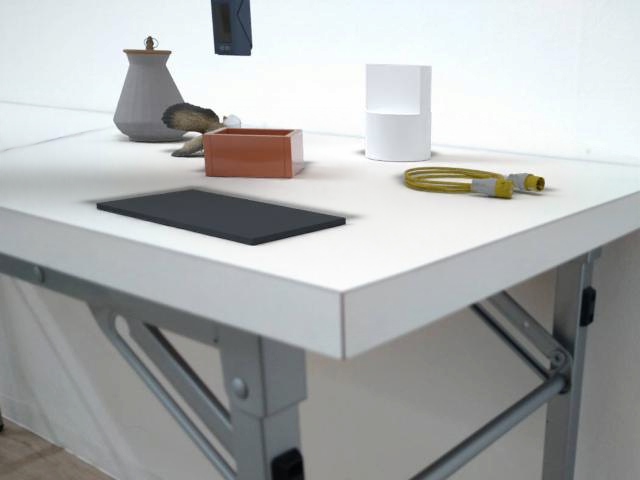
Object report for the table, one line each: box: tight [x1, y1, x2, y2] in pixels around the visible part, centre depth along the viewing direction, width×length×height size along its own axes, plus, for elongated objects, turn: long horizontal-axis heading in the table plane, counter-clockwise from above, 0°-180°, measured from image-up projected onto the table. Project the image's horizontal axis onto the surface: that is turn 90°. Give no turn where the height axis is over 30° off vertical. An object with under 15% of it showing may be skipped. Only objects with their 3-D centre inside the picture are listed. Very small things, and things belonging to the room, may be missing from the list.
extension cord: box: [403, 166, 546, 199], centre depth 80 cm, size 12×16×2 cm
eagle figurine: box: [161, 101, 242, 157], centre depth 99 cm, size 8×7×9 cm
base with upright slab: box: [364, 63, 433, 162], centre depth 100 cm, size 9×9×12 cm
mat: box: [95, 188, 347, 246], centre depth 63 cm, size 20×10×1 cm, turn 55°
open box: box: [201, 127, 305, 179], centre depth 86 cm, size 10×9×4 cm
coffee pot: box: [112, 35, 188, 142], centre depth 116 cm, size 21×12×15 cm, turn 18°
